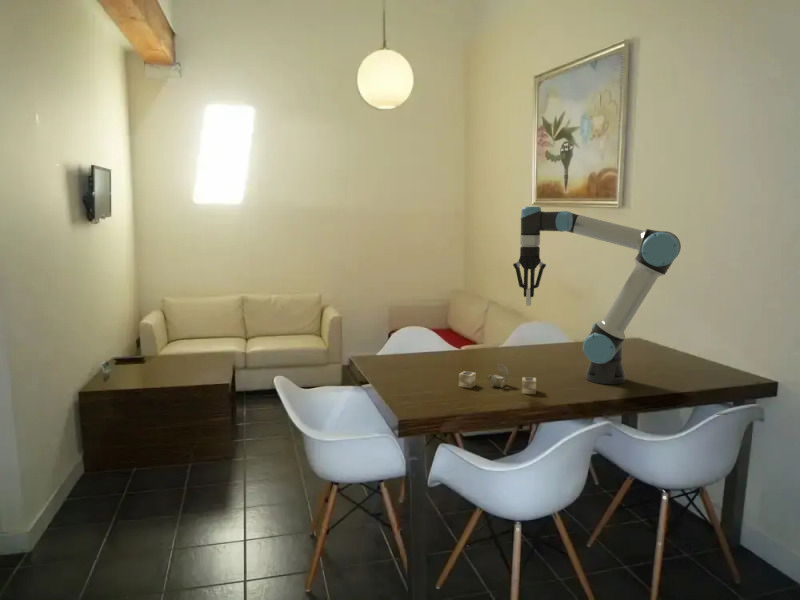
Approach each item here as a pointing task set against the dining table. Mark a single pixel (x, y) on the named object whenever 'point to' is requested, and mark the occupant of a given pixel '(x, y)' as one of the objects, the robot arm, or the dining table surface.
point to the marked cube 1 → (467, 379)
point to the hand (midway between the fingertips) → (528, 305)
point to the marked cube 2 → (528, 385)
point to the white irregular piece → (499, 377)
